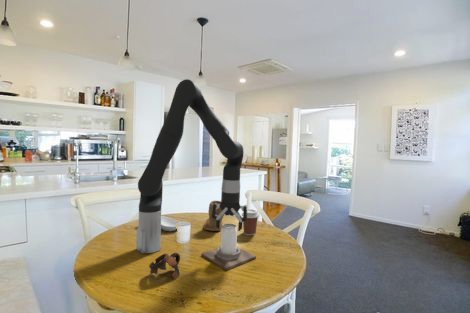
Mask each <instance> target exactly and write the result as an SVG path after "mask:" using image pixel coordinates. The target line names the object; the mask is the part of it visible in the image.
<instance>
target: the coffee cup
mask: <svg viewBox="0 0 470 313" xmlns="http://www.w3.org/2000/svg"><path fill="white" fill-rule="evenodd" d="M259 216H260V213H259V212H258V211H257V210H255V209H248V208H247V220H246V221H243V222H242V229H243V235H246V236H248V235H253V236H255V235H256V234H257V226H258V218H259ZM241 217H242V218H243V217H244V211H242V212H241Z"/></svg>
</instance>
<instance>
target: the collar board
mask: <svg viewBox="0 0 470 313" xmlns="http://www.w3.org/2000/svg"><path fill="white" fill-rule="evenodd" d="M201 257H203V258H205V259H206V260H208V261H210V262H212V263H213V264H215V265H217V266H218V267H219V268H222V269H223V270H225V271H228V270H231V269H233V268H236V267H239V266H242V265H243V264H246V263H248V262H251V261H254V260H255V259H256V258H257V256H256V255H254V254H252V253H251V252H249V251H246V250H244V249H242V248H240V247H239V246H236V253H234V254H224V253H221V245H220V246H218V247H216V248H213V249H210V250H208V251H207V250H206V251H204V252H201Z"/></svg>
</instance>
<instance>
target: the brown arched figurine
mask: <svg viewBox="0 0 470 313" xmlns="http://www.w3.org/2000/svg"><path fill="white" fill-rule="evenodd" d="M154 261H155V262H154ZM154 261H152V262H151V263H150V264H149V267H148V268H149V269H150V272H149V274H154V275H156V276H158V271H159V270H162V271H166V270H167V267H166V265H168V266H169V267H171V268H172V269H173V270H174V271H173V272H172V274H171V276H172V279H173V280H174V281H175V280H176V279H177V278H178V277H179V276H180V274H181V272H180V268H179V263H180V261H181V256H180V254H179V253H178V252H173V253H171V254H170V255H169V253H167V252H165V253H163V254H161V255H159V256H158V257H156V258H155V259H154Z"/></svg>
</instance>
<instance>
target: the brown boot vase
mask: <svg viewBox="0 0 470 313" xmlns="http://www.w3.org/2000/svg"><path fill="white" fill-rule="evenodd" d="M214 203H217V204H221V200H212V201H211V202H210V203H209V205H208V211H207V212H208V217H209V218H206V220H205V223H204V225H203V228H204V230H205V231H209V232H215V231H216V232H217V231H221V230H222V227H223V219H224V216H225V214H223V215H222V217H221V218H220V219H221V221H220V229H218V228H217V227H216V219H214V218H212V211H213V205H214ZM221 212H222V210H221V208H220V207H218V209H217V211H216V215H217V216H218V215H219V214H220V213H221Z"/></svg>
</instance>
